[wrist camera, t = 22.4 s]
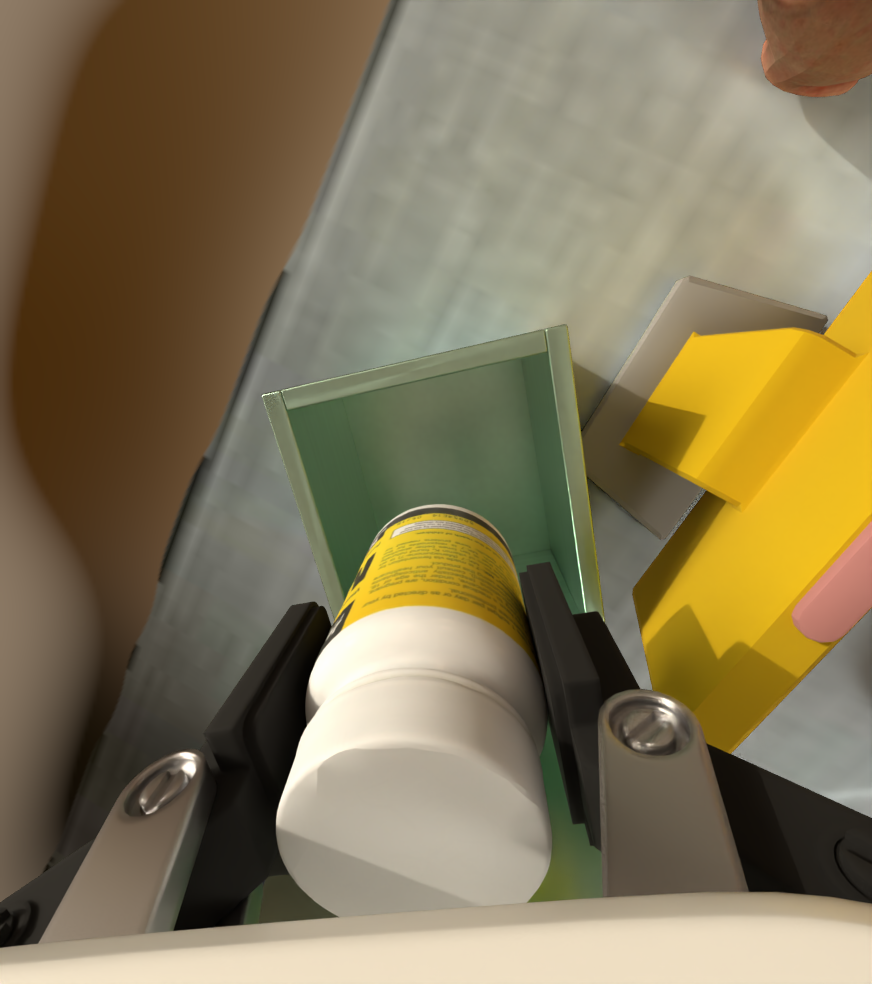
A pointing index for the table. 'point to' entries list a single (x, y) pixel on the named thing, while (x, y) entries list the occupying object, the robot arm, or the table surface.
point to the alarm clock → (743, 492)
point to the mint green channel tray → (445, 456)
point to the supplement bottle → (422, 732)
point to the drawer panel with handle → (566, 879)
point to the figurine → (816, 44)
